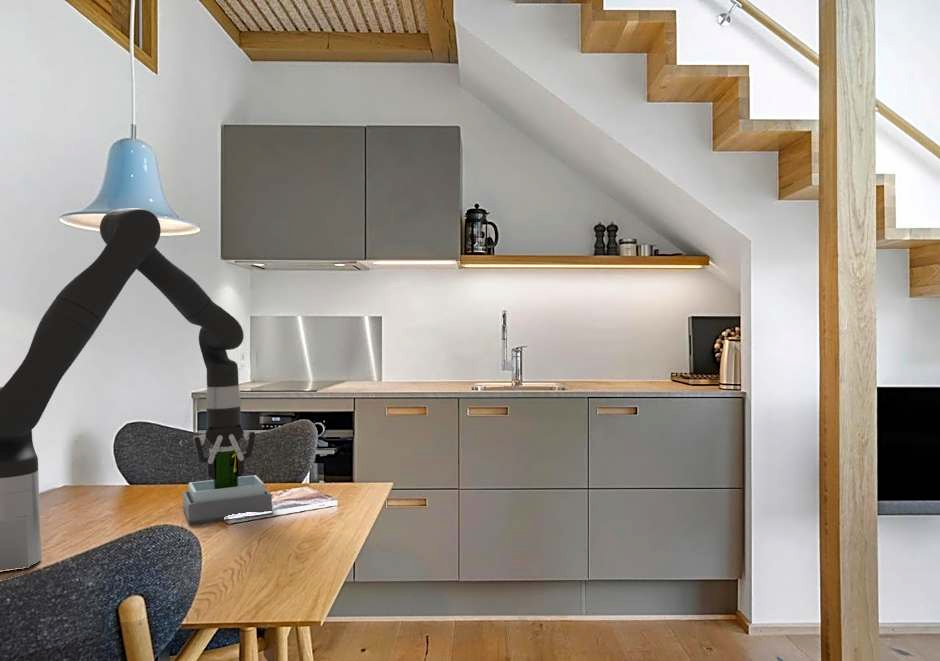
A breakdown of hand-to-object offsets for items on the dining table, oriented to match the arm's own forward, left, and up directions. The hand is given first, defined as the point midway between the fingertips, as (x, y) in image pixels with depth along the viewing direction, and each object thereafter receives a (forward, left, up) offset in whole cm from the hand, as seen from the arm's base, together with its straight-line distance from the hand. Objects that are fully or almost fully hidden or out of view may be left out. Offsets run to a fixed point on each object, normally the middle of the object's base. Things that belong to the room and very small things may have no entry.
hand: (225, 477), depth 175 cm
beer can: (0, 0, -5) cm, 5 cm away
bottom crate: (0, 0, -8) cm, 8 cm away
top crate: (0, 0, -8) cm, 8 cm away
